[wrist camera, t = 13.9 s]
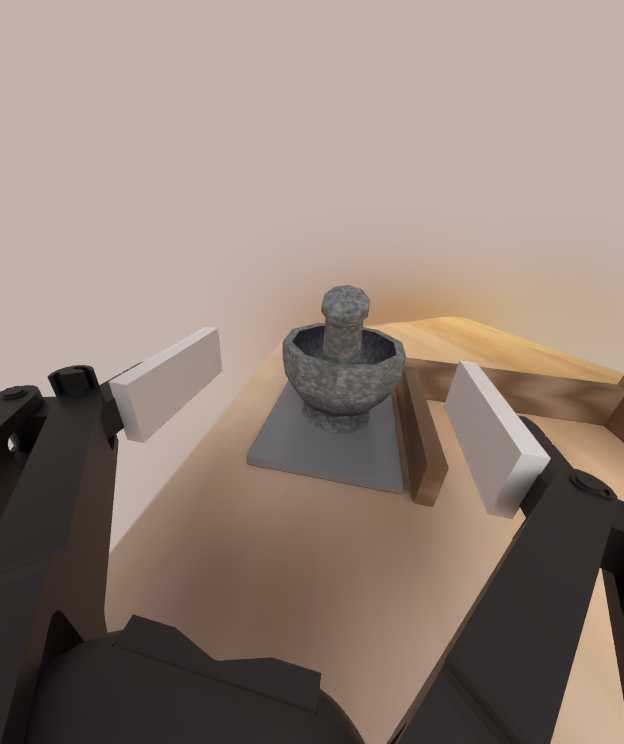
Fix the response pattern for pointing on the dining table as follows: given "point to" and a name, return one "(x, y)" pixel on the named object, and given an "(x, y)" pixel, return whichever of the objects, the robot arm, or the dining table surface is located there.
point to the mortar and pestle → (342, 363)
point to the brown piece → (520, 390)
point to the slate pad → (330, 446)
